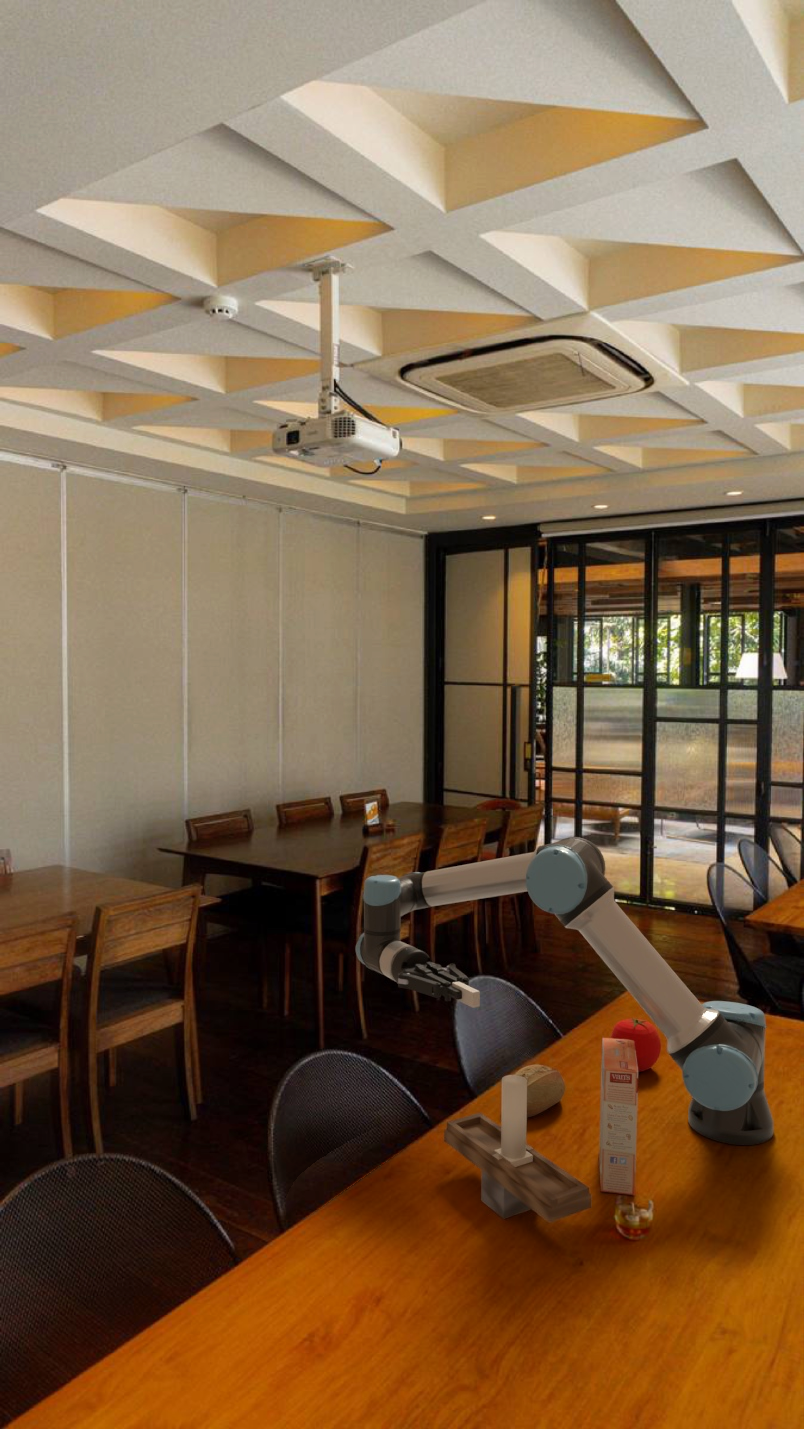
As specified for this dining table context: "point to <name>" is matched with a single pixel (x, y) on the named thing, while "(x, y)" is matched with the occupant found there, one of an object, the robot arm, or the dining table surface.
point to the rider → (514, 1121)
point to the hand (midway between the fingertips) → (476, 999)
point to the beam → (515, 1174)
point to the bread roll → (542, 1087)
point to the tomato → (640, 1040)
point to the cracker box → (618, 1116)
